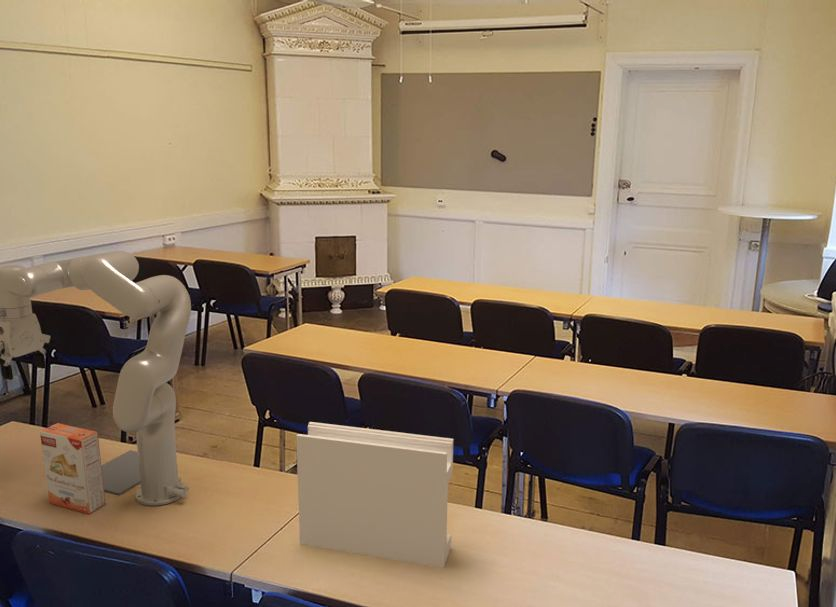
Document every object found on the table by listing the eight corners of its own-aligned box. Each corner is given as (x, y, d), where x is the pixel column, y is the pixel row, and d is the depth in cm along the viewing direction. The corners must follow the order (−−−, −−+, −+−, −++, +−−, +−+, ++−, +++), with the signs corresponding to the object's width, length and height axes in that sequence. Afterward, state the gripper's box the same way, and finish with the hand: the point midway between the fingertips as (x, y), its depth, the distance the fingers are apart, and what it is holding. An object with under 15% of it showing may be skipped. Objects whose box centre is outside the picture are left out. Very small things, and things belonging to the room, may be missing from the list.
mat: (174, 462, 211) (174, 460, 211) (119, 495, 192) (119, 493, 192) (130, 451, 218) (130, 450, 218) (73, 482, 199) (72, 480, 199)
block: (300, 544, 171) (296, 435, 165) (313, 526, 179) (310, 421, 172) (443, 567, 163) (445, 454, 156) (450, 548, 170) (453, 438, 164)
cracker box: (47, 504, 188) (38, 430, 183) (66, 493, 193) (57, 421, 188) (88, 515, 183) (79, 439, 178) (106, 504, 188) (98, 430, 183)
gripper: (-6, 321, 181) (4, 385, 185) (54, 306, 197) (62, 365, 201) (-25, 318, 184) (-15, 381, 189) (35, 303, 200) (43, 362, 204)
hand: (24, 373), depth 195 cm, fingers open, 9 cm apart
